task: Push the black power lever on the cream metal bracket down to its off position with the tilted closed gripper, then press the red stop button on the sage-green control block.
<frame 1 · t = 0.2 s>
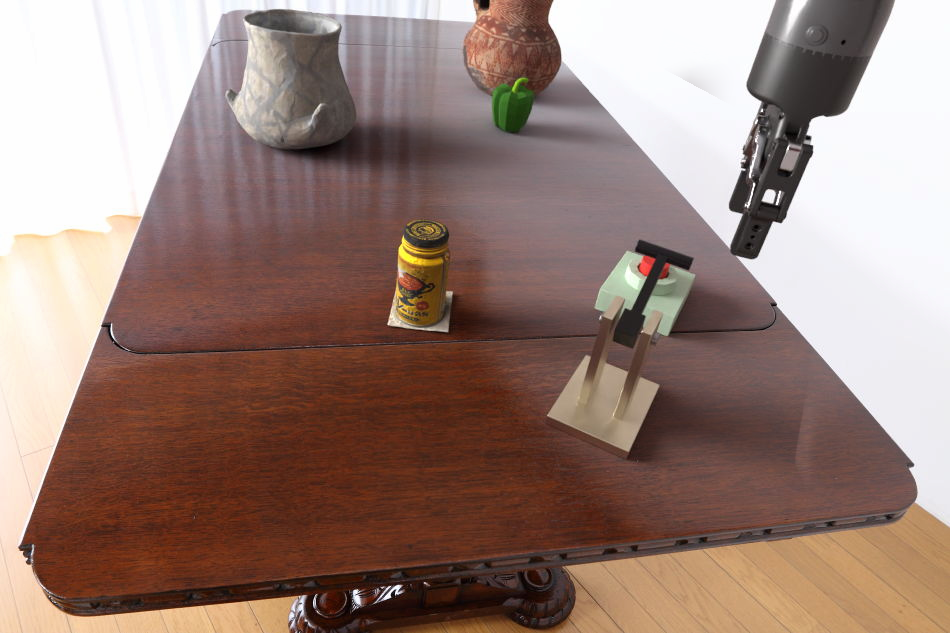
hand: (740, 232, 59), 24 cm above the table, tool pointing down, fingers open, 8 cm apart
bell pepper: (508, 128, 137), on the table
condiment: (421, 310, 85), on the table
vessel: (292, 138, 121), on the table
power lever: (645, 293, 70), point 13 cm above the table, hinge at 25.0°
jug: (506, 90, 156), on the table
stop block: (643, 300, 92), on the table
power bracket: (603, 407, 74), on the table
stop button: (654, 266, 89), point 6 cm above the table, slide at 0.2 cm
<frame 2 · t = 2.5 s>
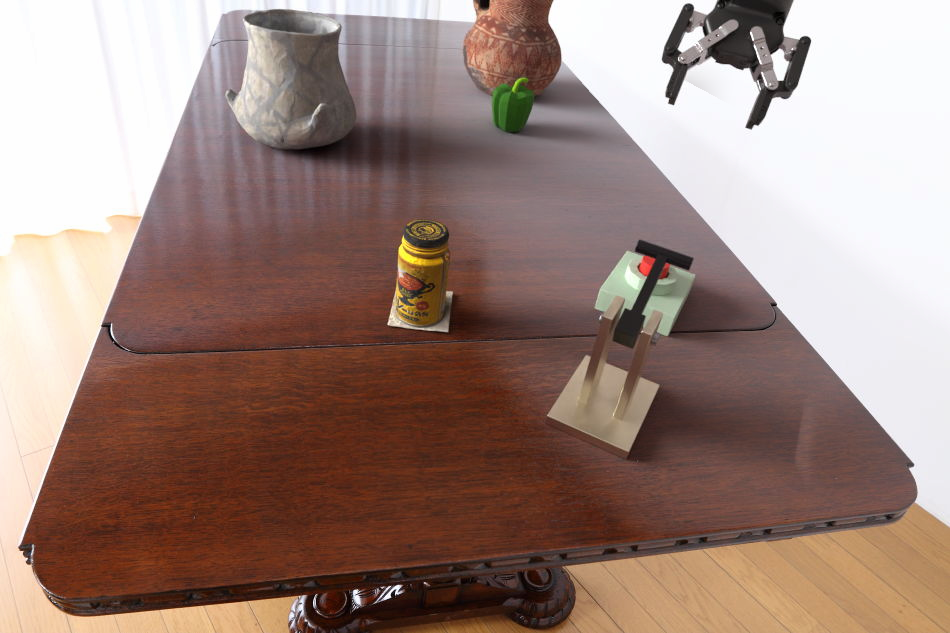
hand: (710, 113, 72), 28 cm above the table, tool tilted 40°, fingers open, 8 cm apart
nothing on the table moved.
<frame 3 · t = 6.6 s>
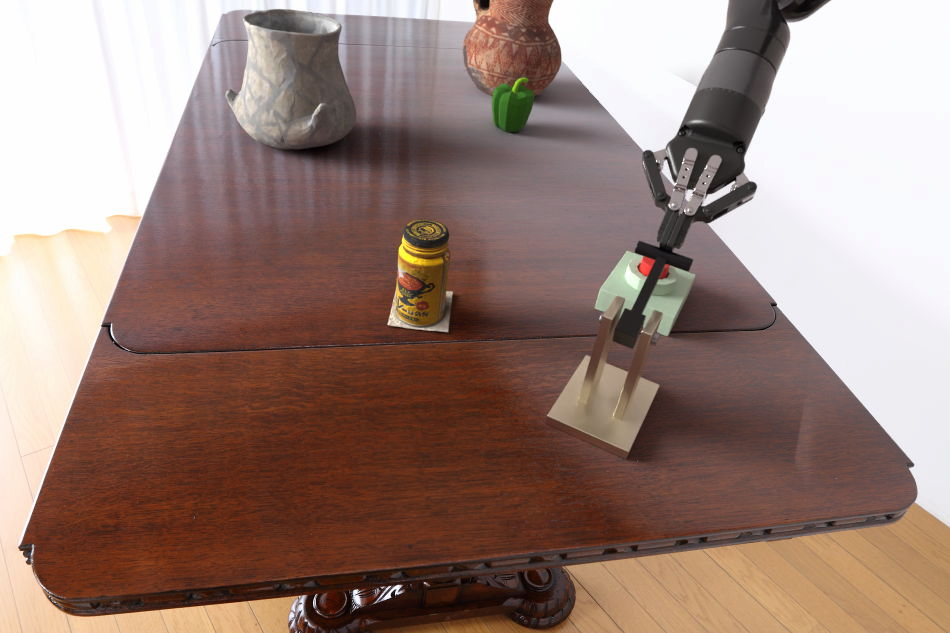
hand: (666, 248, 72), 16 cm above the table, tool tilted 45°, fingers closed
power lever: (645, 293, 70), point 13 cm above the table, hinge at 23.7°, touching gripper
everything else where it was.
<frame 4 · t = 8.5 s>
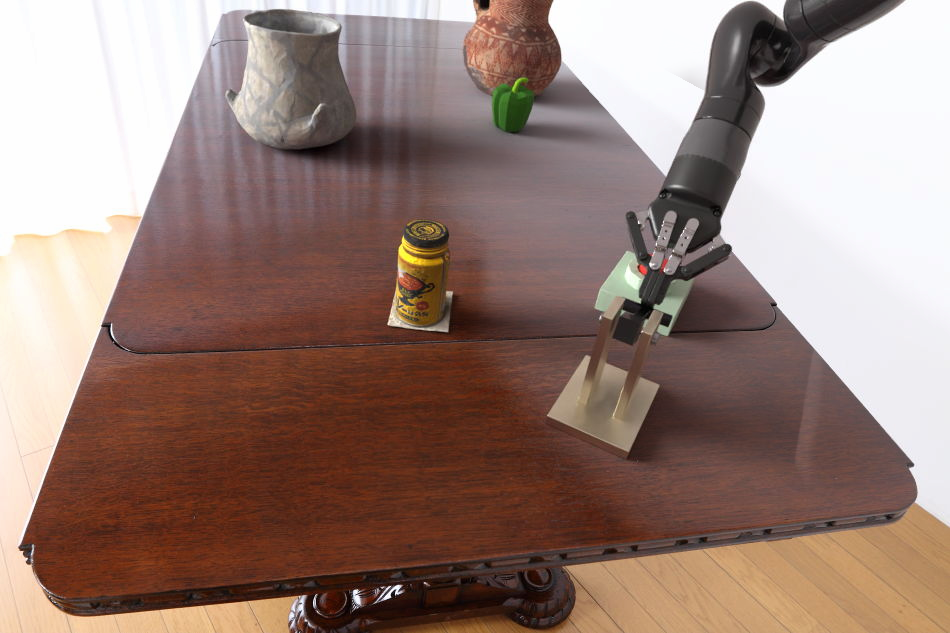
hand: (647, 304, 77), 8 cm above the table, tool tilted 45°, fingers closed
power lever: (636, 320, 72), point 9 cm above the table, hinge at -20.8°
everything else where it was.
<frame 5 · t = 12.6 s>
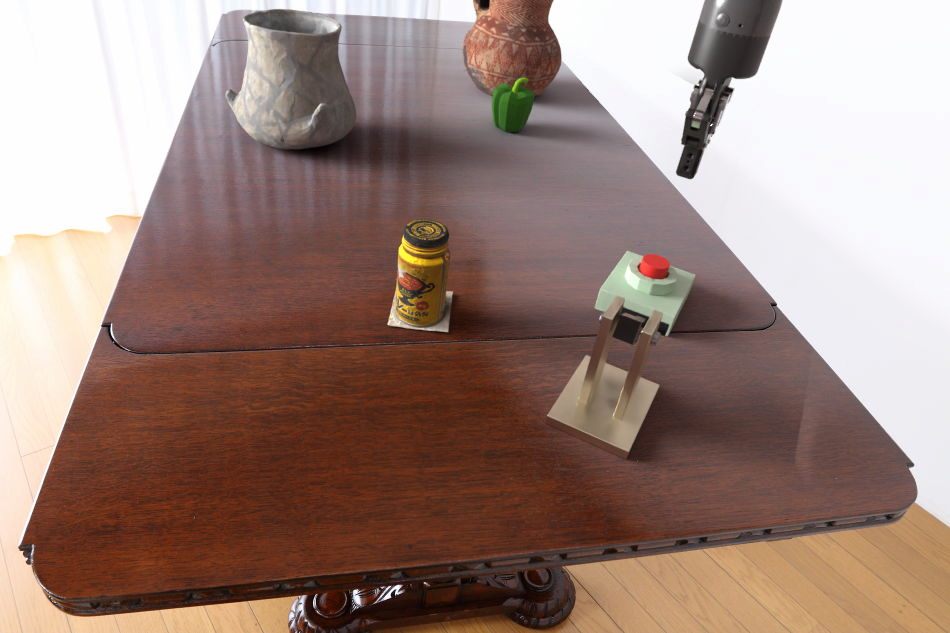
hand: (685, 175, 81), 19 cm above the table, tool pointing down, fingers closed
power lever: (635, 324, 72), point 9 cm above the table, hinge at -26.9°
everything else where it was.
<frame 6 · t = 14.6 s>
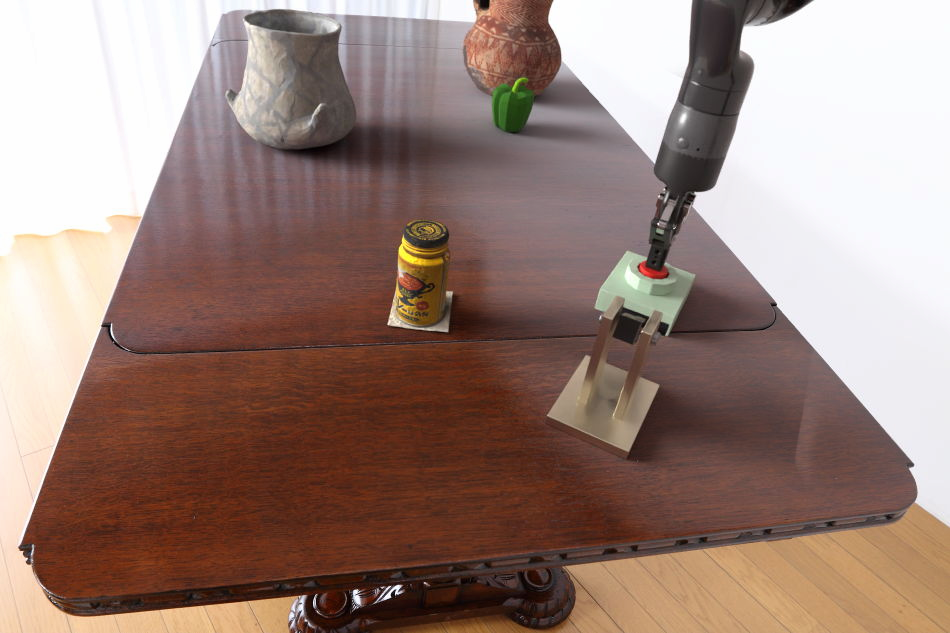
hand: (654, 267, 89), 5 cm above the table, tool pointing down, fingers closed
stop button: (652, 272, 90), point 5 cm above the table, slide at -0.8 cm, touching gripper
everything else where it was.
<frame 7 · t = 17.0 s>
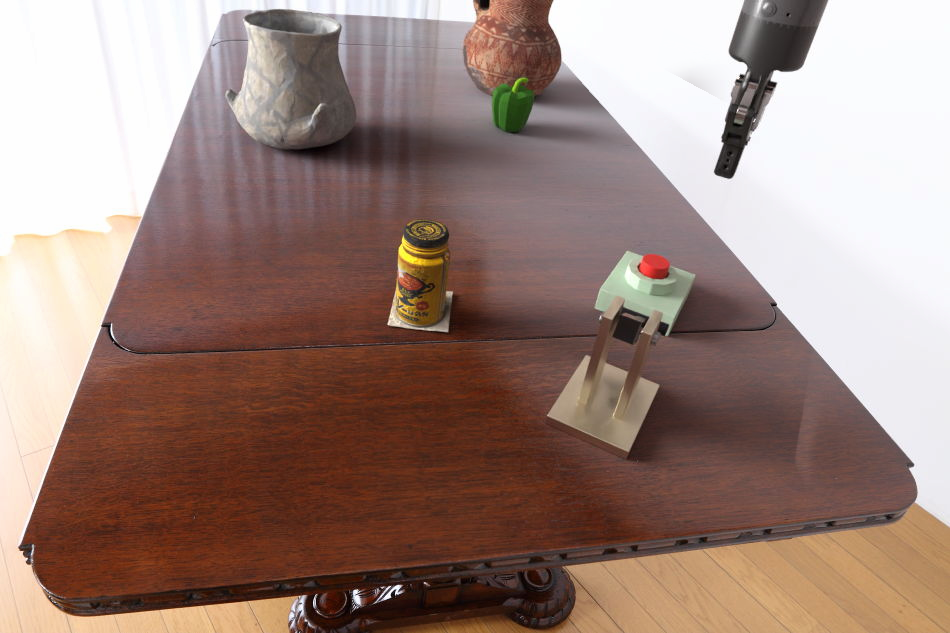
hand: (723, 174, 77), 21 cm above the table, tool pointing down, fingers closed
stop button: (654, 266, 89), point 6 cm above the table, slide at 0.2 cm
everything else where it was.
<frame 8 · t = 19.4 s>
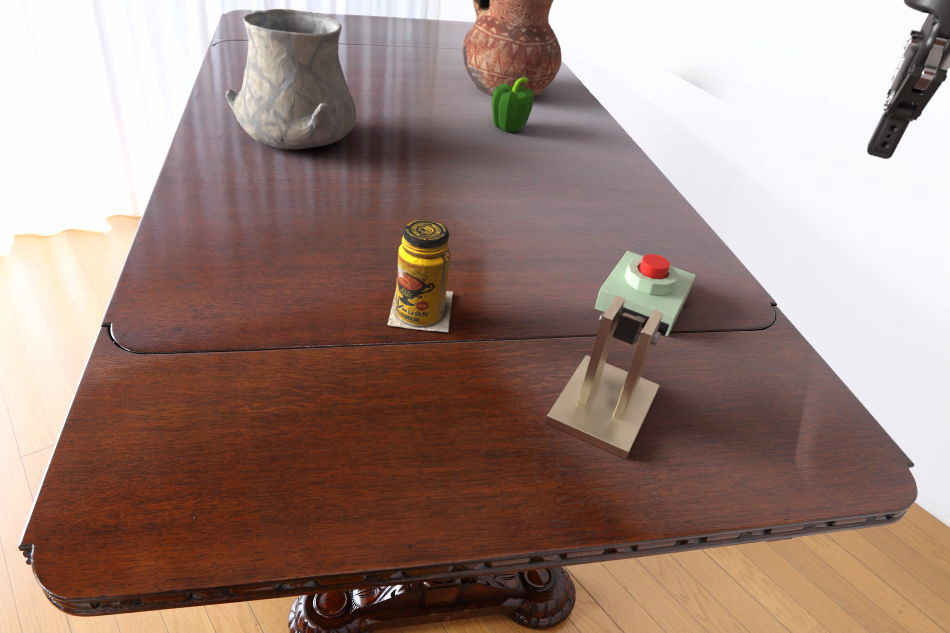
hand: (877, 154, 65), 29 cm above the table, tool pointing down, fingers closed
nothing on the table moved.
at the end: power lever at -27° (first picture: +25°); stop button pushed in 1.0 cm at the most during the clip, back to 0.2 cm at the end; stop button slide at 0.2 cm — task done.
